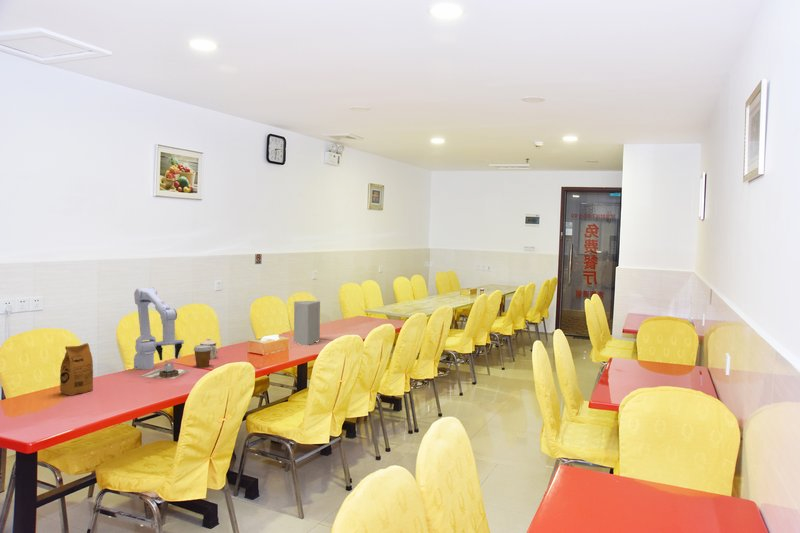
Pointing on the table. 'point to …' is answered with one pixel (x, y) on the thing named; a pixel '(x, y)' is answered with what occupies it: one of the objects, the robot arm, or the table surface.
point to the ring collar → (168, 374)
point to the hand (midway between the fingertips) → (168, 359)
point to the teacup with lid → (213, 346)
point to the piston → (168, 368)
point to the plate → (156, 372)
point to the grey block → (306, 322)
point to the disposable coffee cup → (202, 355)
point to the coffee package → (76, 370)
